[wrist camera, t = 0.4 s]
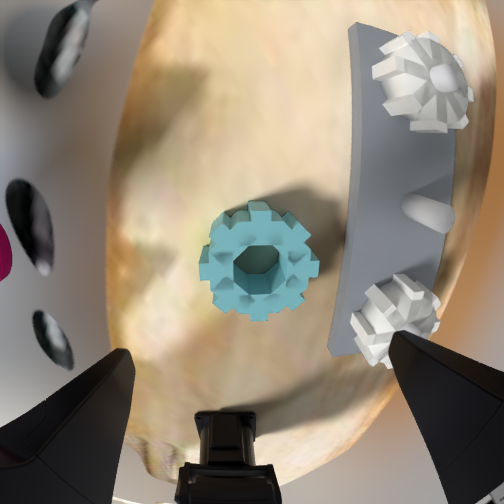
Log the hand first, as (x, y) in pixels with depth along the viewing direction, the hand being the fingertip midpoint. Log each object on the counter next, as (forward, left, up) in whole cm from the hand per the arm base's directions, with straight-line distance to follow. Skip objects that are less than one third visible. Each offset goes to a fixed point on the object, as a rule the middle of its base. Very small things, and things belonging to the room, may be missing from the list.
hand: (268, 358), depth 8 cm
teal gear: (-1, -1, -11) cm, 11 cm away
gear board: (+3, -12, -11) cm, 17 cm away
